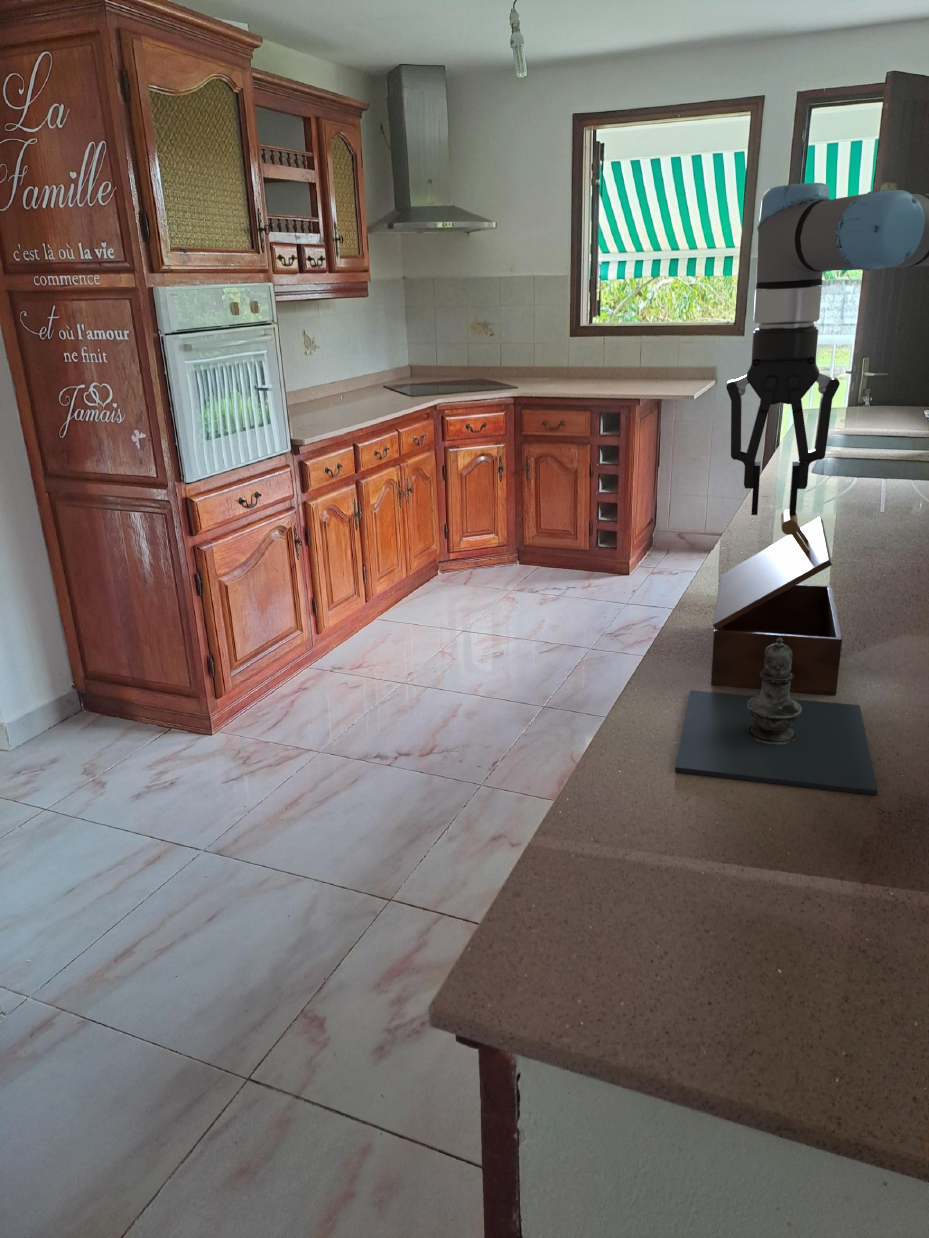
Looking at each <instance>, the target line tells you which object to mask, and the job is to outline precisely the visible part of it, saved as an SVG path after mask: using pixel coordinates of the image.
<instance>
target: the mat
mask: <svg viewBox="0 0 929 1238" xmlns="http://www.w3.org/2000/svg"><path fill="white" fill-rule="evenodd" d="M756 696H757V695H749V694H740V693H739V694H737V693H727V692H716V691H704V690H693V689H690V691H689V694H688V699H687V705H686V710H685V715H684V721H683V724H682V730H681V736H680V741H679V745H678V746H679V747H678V752H677V756H676V762H675V768H674V771H675V773H681V774H690V775H697V776H698V775H699V776H707V777H714V778H715V777H716V778H723V779H732V780H741V781H749V782H758V783H759V782H760V783H765V784H774V785H775V784H776V785H784V786H794V787H802V788H811V789H819V790H827V791H835V792H844V793H853V794H861V795H871V796H877V795H878V786H877V782H876V778H875V773H874V768H873V762H872V758H871V753H870V749H869V744H868V739H867V735H866V730H865V725H864V720H863V715H862V710H861V705H860V704H851V703H841V702H832V701H831V702H829V701H819V700H818V701H817V700H807V699H806V700H805V699H796V698H795V699H794V698H791V699H792V700H794V701H796V702H797V703H799V704H800V706H801V707H802V711H801V713H800V714H799V715H798V718H797V720H796V722H795V723H794V725H793V726H791V727H790V728H791V729H792V730H794V731H795V733H796V739H795V741H793V742H792V743H789V744H785V745H769V744H764V743H761V742H758V741H756V740H754V739H752V738H751V737H750V736H749V734H748V729H749V727H750V726H752V725H754V724H756V723H755V722H754V721H753V720H752V718H751V715H750V710H749V709H748V707H747V702H748V701H749V700H750V699H751V698H753V697H756Z"/></svg>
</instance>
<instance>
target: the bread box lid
mask: <svg viewBox="0 0 929 1238" xmlns="http://www.w3.org/2000/svg"><path fill="white" fill-rule="evenodd" d="M780 525H781V532H782V533H783V534H785V535H786V536H784V537H783V538H781V539H780V540H777V541H776V542H774V543H773V544H771V545H769V546H768V547H766V548H764V549H762V550H761V551H759V552H758V553H755V554H754V555H752V556H751V557H749V558H747V559H746V560H744V561H742V562H741V563H739V564H737V565H735V566H733V567H732V568H730V569H728V570H727V571H725V572H723V573H722V574H720V577H719V584H718V588H717V589H718V590H717V597H716V602H715V609H714V613H713V620H712V627H713V629H714V628H715V629H716V630H717V629H719V628H720V627H722V626H724V625H726V624H728V623H729V622H731V621H733V620H735V619H736V618H738V617H740V616H742V615H744V614H745V613H747V612H749V611H751V610H752V609H754V608H756V607H758V606H760V605H761V604H763V603H765V602H767V601H769V600H770V599H772V598H774V597H776V596H777V595H779V594H781V593H783V592H785V591H786V590H788V589H790V588H792V587H794V586H795V585H797V584H802V583H803V582H804V581H806V580H808V579H810V578H812V577H813V576H815V575H817V574H818V573H820V572H822V571H824V570H826V569H827V568H830V567H831V566H833V563H832V557H831V554H830V548H829V543H828V539H827V534H826V529H825V526H824V520H823V519H822V517H821V516H818V517H816V518H815V519H813V520H812V521H810V522H808V523H806V524H805V525H803V526H801V527H800V526H799V522H798V514H797V513H796V516H789V508H787V509H785V510H783V511H782V512H781V514H780Z"/></svg>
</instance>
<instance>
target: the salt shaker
mask: <svg viewBox="0 0 929 1238" xmlns="http://www.w3.org/2000/svg"><path fill="white" fill-rule="evenodd" d="M782 641H783V640H782V638H781V637H779V638H778V639H777V643H775V644H771V645H769V646H768V647H767V648H766V650H765V660H764V670H763V671H761V672H760V676H761V678H762V689H760V693H759V695H755V696H756V697H753V698H751V699H750V700H749V701H748V702H747V707H748V709H749V710H750V715H751V718H752V720H753V721H754V722H755V723H756V724H754V725H752V726H750V727H749V729H748V734H749V736H750V737H751V738H752V739H754V740H756V741H758V742H761V743H764V744H769V745H785V744H789V743H792V742H793V741H795V739H796V733H795V731H794V730H792V729H791V728H790V727H791V726H793V725H794V723H795V722H796V720H797V718H798V715H799V714H800V713H801V711H802V707H801V706H800V704H799V703H797V702H796V701H794V700H792V699H793V698H792V697H791V691H790V684H791V681H792V680H793V679H794V675H793V674H792V673H791V664H792V650H791V649H790V647H788V646H787V645H785V644H783V643H782Z"/></svg>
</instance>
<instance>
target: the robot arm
mask: <svg viewBox="0 0 929 1238" xmlns="http://www.w3.org/2000/svg"><path fill="white" fill-rule="evenodd" d="M758 219H759V220H758V225H757V227H756V229H757V230H756V231H757V233H758V234H757V235H758V236H757V253H756V277H755V290H754V309H753V323H754V324H755V325H758V327H757V328H755V329H754V331H752V345H751V364H750V366H749V368H748V370H747V372H746V375H744V376H741V377H739V378H736V379H730V380H728V381H727V383H726V391H727V393H728V397H729V399H730V457H731V459H732V460H734V461H739V462H741V463H743V465H744V473H743V474H744V475H743V486H744V489H750V490H751V489H752V496H751V497H752V498H751V514H750V515H751V516H758V513H759V510H758V509H759V496H760V495H759V494H760V480H761V461H756V458H757V454H758V451H759V447H760V443H761V440H762V435H763V433H764V428H765V425H766V422H767V418H768V417H767V416H768V414H769V412H770V407H771V405H777V404H785V405H790V406H791V411H792V412H791V413H792V419H793V426H794V433H795V434H794V435H795V441H796V447H797V454H798V455H797V456H798V461H792V462H791V463H792V465H791V477H790V492H789V502H788V503H789V505H788V506H789V507H788V509H789V516H796V514H797V502H798V501H797V500H798V490H806V489H807V487H808V482H809V468H810V465H811V463H813V462H816V461H818V460H819V461H821V460H823V459H824V458H825V457H826V452H827V446H828V445H827V444H828V436H829V428H830V421H831V413H832V404H833V399H834V397H835V395H836V393H837V391H838V389H839V387H840V385H841V384H840V380H839V379H838V378H837V377H835V376H832V377H831V376H828V375H825V374H823V373H820V369H819V367H818V365H817V353H818V352H817V351H818V338H819V328H818V327H817V326H816V325H815V323H816V322H817V321H819V320H820V314H821V301H822V289H823V275H824V272H829V271H858V270H859V271H872V270H874V271H877V270H883V269H884V270H885V269H897V268H911V267H929V193H910V192H909V191H906V190H902V189H894V190H891V189H887V190H886V189H885V190H878V189H876V190H872V191H868V192H867V193H861V194H856V195H850V196H844V197H838V198H831V199H830V188H829V186H828V185H827V184H826V183H823V182H805V183H793V184H792V183H791V184H787V185H784V184H783V185H778V186H774V187H770V188H768V189H767V190H766V191H765V192H764V193H763V195H762V197H761V202H760V210H759V218H758ZM815 383H817V385H818V386H817V390H818V392H819V394H821V396H820V400H819V409H818V416H817V424H816V432H815V439H814V440H815V441H814V448H813V449H810V450H809V445H808V438H807V432H806V431H807V430H806V425H805V417H804V409H803V403H802V399H803V398H804V397H805V395H806V394H807V392H809V390H810V389H811V388H812V387H813V385H814V384H815ZM747 385H750V387H751V388H752V389H753V391H754V392H755V394H756V395H757V396H758V398H759V400H760V401H759V404H758V407H757V412H756V416H755V420H754V422H753V427H752V430H751V435H750V438H749V441H748V445H747V450H745V449H742V410H743V409H742V407H743V405H742V403H743V402H742V401H743V400H742V396H744V395H745V393H746V389H747V388H746V387H747Z"/></svg>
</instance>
